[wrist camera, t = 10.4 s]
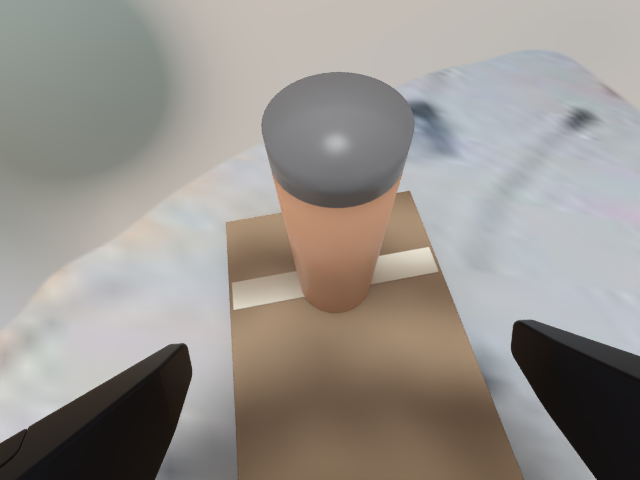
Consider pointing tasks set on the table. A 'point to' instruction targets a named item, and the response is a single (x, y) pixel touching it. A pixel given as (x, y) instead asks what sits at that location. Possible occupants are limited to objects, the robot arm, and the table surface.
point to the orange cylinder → (337, 178)
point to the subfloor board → (356, 368)
